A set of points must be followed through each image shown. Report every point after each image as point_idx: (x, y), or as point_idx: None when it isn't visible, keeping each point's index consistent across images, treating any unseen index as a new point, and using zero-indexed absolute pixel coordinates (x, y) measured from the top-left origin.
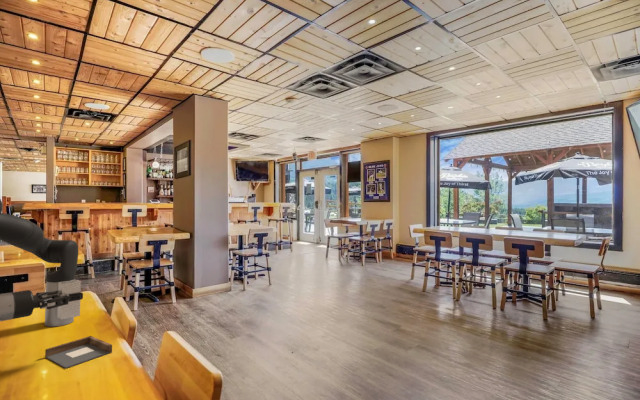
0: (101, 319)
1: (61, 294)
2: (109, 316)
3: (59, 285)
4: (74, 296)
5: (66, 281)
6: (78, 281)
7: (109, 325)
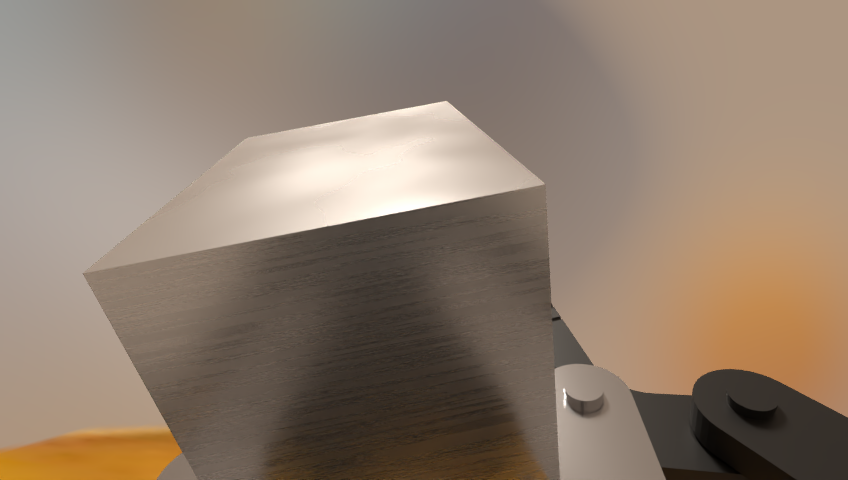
0: (35, 476)
1: (538, 475)
2: (44, 440)
3: (254, 340)
4: (567, 344)
5: (231, 183)
6: (433, 108)
7: (168, 455)
